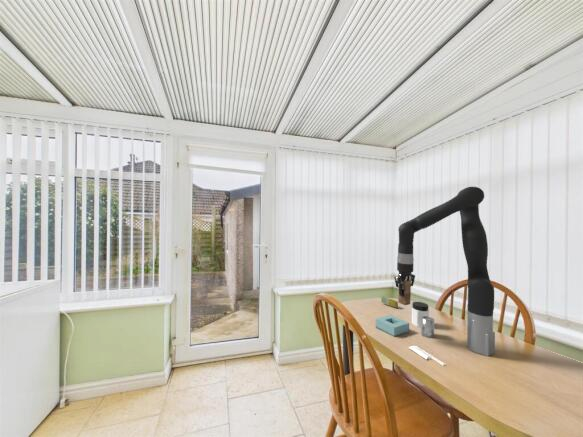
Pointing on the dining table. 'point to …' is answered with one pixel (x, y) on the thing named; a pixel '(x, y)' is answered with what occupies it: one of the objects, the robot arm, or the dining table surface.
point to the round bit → (427, 327)
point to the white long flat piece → (424, 354)
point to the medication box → (389, 302)
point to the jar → (419, 312)
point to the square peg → (405, 294)
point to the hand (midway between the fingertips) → (404, 295)
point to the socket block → (392, 325)
